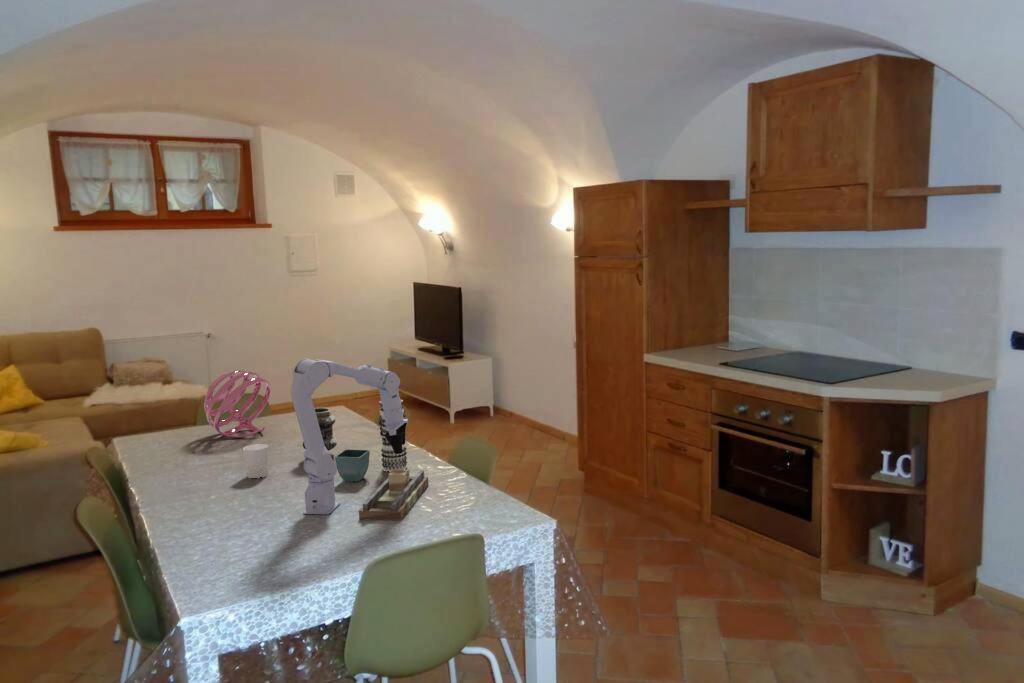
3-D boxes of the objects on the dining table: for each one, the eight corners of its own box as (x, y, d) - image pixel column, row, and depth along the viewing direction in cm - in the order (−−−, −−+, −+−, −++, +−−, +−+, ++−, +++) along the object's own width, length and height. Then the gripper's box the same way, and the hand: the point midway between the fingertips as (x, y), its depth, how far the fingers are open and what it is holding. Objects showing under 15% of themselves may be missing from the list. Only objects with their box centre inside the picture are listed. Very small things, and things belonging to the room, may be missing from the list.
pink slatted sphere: (296, 386, 318) (249, 348, 324) (242, 416, 296) (194, 374, 302) (283, 431, 334) (239, 394, 340) (232, 463, 312) (186, 423, 318)
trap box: (400, 520, 215) (399, 504, 214) (359, 519, 217) (358, 503, 216) (428, 484, 246) (427, 470, 245) (391, 483, 248) (391, 470, 247)
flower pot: (361, 484, 248) (359, 457, 247) (335, 483, 250) (334, 456, 249) (371, 476, 257) (370, 449, 256) (347, 475, 259) (345, 449, 258)
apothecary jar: (340, 460, 277) (337, 411, 274) (305, 465, 272) (302, 415, 270) (335, 452, 288) (332, 404, 286) (301, 456, 284) (298, 408, 281)
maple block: (405, 490, 233) (404, 474, 232) (389, 490, 233) (388, 474, 233) (409, 485, 238) (409, 469, 237) (394, 485, 238) (393, 469, 238)
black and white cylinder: (412, 464, 268) (409, 394, 265) (401, 472, 259) (397, 399, 256) (388, 463, 271) (384, 393, 267) (376, 471, 262) (372, 399, 258)
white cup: (240, 477, 260) (237, 448, 259) (258, 471, 267) (255, 443, 265) (257, 480, 256) (255, 451, 255) (274, 473, 263) (272, 445, 262)
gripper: (402, 413, 233) (410, 455, 236) (407, 399, 247) (415, 438, 250) (379, 417, 233) (387, 459, 236) (385, 402, 247) (393, 442, 250)
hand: (400, 448), depth 243 cm, fingers open, 7 cm apart
